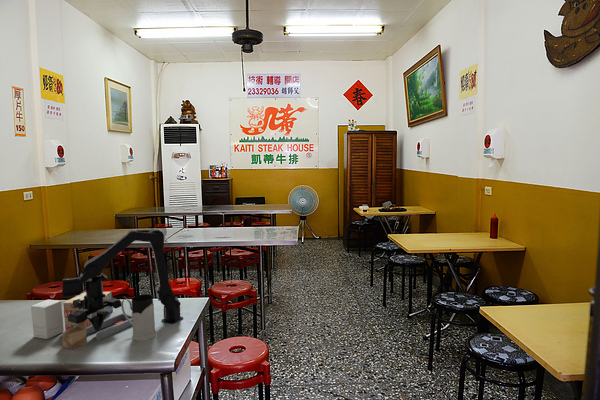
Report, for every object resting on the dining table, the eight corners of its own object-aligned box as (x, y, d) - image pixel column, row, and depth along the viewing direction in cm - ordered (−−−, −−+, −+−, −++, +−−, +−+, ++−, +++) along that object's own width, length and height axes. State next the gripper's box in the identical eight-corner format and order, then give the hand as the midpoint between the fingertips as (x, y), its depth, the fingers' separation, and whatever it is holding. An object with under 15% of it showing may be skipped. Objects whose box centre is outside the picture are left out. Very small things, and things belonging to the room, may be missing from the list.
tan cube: (87, 343, 139) (86, 329, 139) (72, 349, 134) (71, 335, 134) (77, 340, 142) (76, 326, 141) (63, 346, 137) (62, 332, 136)
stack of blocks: (100, 311, 170) (98, 284, 169) (113, 311, 169) (111, 285, 168) (65, 332, 149) (62, 302, 148) (79, 332, 148) (77, 302, 147)
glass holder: (146, 341, 139) (143, 302, 138) (115, 337, 144) (112, 299, 142) (161, 331, 148) (159, 294, 146) (131, 327, 152) (129, 291, 151)
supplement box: (64, 331, 149) (62, 300, 148) (46, 339, 142) (44, 307, 141) (50, 329, 152) (48, 298, 150) (32, 337, 145) (30, 305, 143)
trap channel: (138, 322, 157) (138, 316, 157) (98, 340, 141) (98, 334, 141) (123, 318, 161) (122, 312, 161) (82, 335, 145) (82, 329, 145)
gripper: (103, 282, 156) (105, 318, 158) (57, 297, 139) (60, 337, 141) (121, 286, 151) (123, 323, 153) (75, 301, 134) (79, 343, 136)
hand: (97, 331), depth 146 cm, fingers closed
